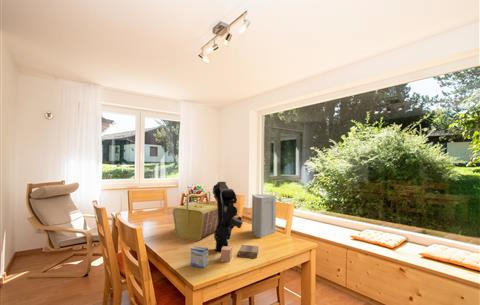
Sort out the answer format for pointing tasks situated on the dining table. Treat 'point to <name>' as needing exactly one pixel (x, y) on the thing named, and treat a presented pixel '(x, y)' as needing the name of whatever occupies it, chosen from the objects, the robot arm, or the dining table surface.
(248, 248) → the walnut base
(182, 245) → the dining table surface
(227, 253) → the terracotta block
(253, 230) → the grey upright carton
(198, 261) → the medicine box
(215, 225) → the picnic basket
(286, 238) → the dining table surface
